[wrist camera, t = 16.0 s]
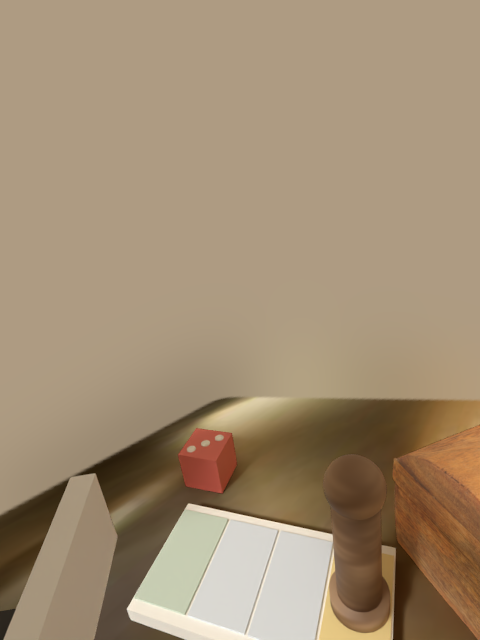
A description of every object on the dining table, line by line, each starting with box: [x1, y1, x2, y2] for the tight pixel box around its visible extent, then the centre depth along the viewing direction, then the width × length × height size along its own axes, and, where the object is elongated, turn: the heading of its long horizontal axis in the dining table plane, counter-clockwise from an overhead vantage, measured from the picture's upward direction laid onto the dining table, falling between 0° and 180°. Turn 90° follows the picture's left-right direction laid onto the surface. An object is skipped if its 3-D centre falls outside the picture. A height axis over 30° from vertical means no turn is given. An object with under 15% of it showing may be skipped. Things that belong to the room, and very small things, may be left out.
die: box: [178, 428, 237, 493], centre depth 51 cm, size 5×5×5 cm
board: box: [127, 503, 396, 640], centre depth 38 cm, size 22×12×2 cm, turn 69°
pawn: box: [323, 454, 390, 633], centre depth 32 cm, size 5×5×15 cm
